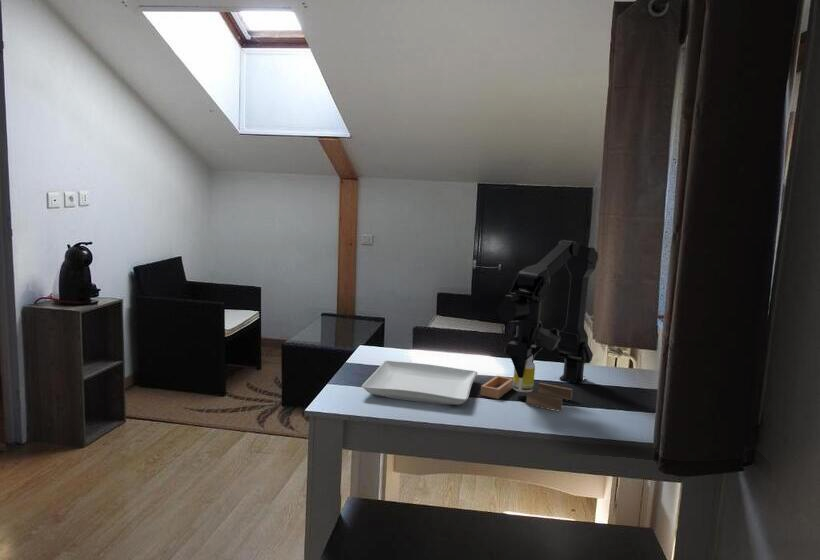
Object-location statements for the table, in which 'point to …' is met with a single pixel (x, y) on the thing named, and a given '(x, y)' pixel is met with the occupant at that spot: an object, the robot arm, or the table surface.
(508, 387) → the trap pit
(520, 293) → the robot arm
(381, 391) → the square plate
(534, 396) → the walled lane
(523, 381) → the supplement bottle
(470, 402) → the table surface
